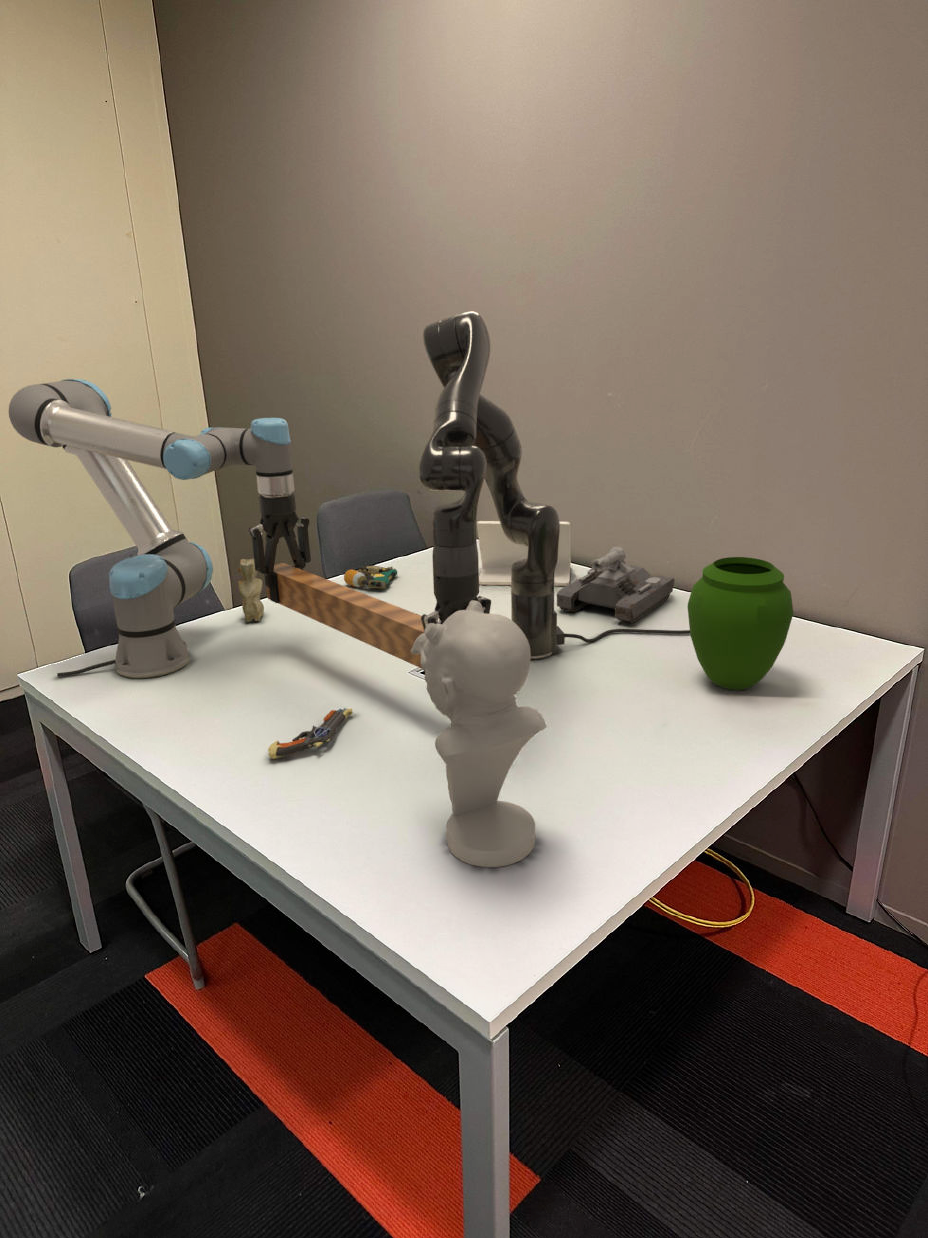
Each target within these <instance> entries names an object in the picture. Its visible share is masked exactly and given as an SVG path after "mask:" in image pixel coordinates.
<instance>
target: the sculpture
mask: <svg viewBox="0 0 928 1238" xmlns="http://www.w3.org/2000/svg"><path fill="white" fill-rule="evenodd" d="M239 565H240V566H239V567H238V568H237V572H238V574H240V575H241V576H242V579H240V580H238V582H237V585H238V591H239V596H241V597H242V603H241V608H242V612H243V614H244V619H245V622H246V623H247V622H252V621H253V620H254V622H258V621H260V620H261V617H262V616H263V615H264V613H265V606H264V604H263V601H261V593H262V590H263V580H262V579H260V578H257V577H256V576H257V575H258V574H259V573H260V572H257V571H256V570H255V564H254V557H253V558H250V559H245V558H241V559H240V561H239Z"/></svg>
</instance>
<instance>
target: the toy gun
mask: <svg viewBox="0 0 928 1238" xmlns="http://www.w3.org/2000/svg"><path fill="white" fill-rule="evenodd" d="M353 713H354V712H353V708H346V707H344V708H343V709H342V708H339V709H332V710H330V711H329V712H328V713H327V714H326V715H325V716H324V718H323V723H322V724H321V725H319V726H316V725H312V729H310V730H305V731H301V732H300V733H299V734H298V735H297V736H296V737H294V738H292V741H288V742H280V741H279V740H275V741H274V742H273V743H271V744H270V745H269V746H268V749H267V751H268V756H269V759H271V760H274V759H278V758H283V757H285V756H290V755H293V754H297V753H300V752H304V751H307V750H309V749H312V748H319V747H321V746H323V745H324V744H325V743H328V742H329V741H331V739H332V738H333V737H334V736H335V734H336V732H337V730H338V728H339V727H341V725H342V723H343V722H344V721H345V720H346V719H347V718H348V717H349V716H352V715H353Z"/></svg>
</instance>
